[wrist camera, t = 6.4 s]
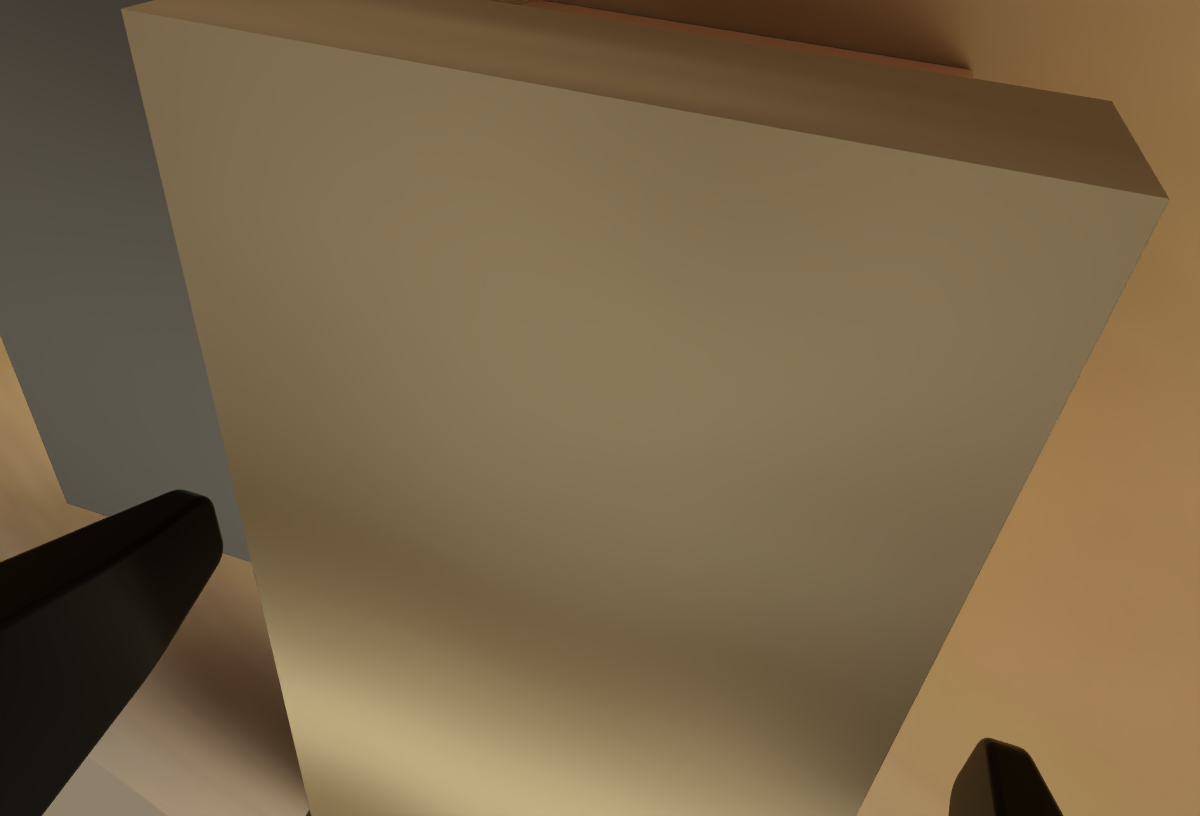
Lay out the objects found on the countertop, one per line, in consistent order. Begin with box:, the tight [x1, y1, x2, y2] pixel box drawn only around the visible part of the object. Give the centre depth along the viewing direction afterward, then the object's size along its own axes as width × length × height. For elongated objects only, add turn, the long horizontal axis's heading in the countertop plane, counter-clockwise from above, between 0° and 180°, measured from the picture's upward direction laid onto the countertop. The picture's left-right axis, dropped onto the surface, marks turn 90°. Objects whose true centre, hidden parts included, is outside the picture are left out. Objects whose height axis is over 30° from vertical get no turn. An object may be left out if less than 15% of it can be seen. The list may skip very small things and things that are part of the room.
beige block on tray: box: [121, 0, 1169, 816], centre depth 10 cm, size 12×7×2 cm, turn 176°
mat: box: [0, 0, 251, 562], centre depth 18 cm, size 14×9×1 cm, turn 176°
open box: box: [523, 0, 973, 79], centre depth 13 cm, size 10×6×5 cm, turn 176°
